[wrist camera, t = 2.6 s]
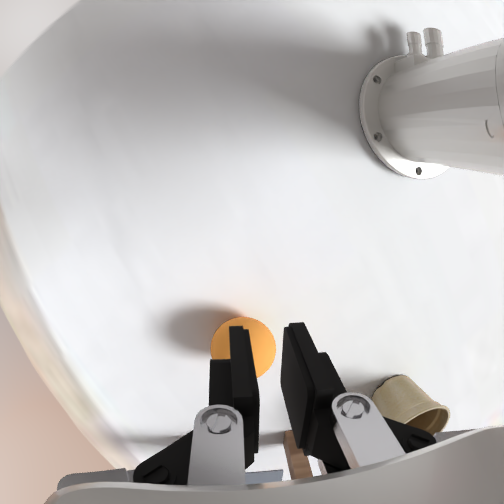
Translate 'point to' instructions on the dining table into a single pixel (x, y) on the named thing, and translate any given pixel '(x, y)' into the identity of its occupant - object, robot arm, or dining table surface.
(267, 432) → the dining table surface
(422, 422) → the flower pot
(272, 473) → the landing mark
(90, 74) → the dining table surface
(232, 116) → the dining table surface
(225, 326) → the ball
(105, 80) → the dining table surface
